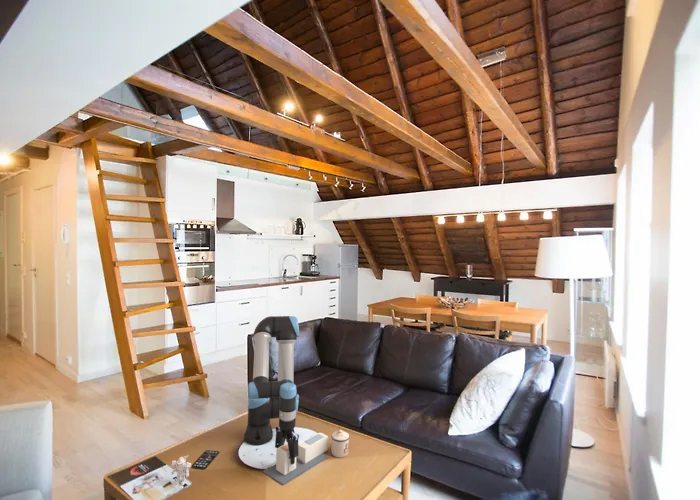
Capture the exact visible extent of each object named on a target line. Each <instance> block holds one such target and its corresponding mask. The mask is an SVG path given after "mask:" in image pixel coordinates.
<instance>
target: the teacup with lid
mask: <svg viewBox="0 0 700 500" xmlns="http://www.w3.org/2000/svg"><path fill="white" fill-rule="evenodd" d="M349 441H350V434H349V433H348V432H347V431H344V430H342V429H339V430H336V431H334V432H333V433H332V434H331V455H332V456H334V457H336V458H345V457H347V456H348V455H349V447H350V446H349V444H350V442H349Z"/></svg>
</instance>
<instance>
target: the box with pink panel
mask: <svg viewBox="0 0 700 500" xmlns="http://www.w3.org/2000/svg"><path fill="white" fill-rule="evenodd" d="M275 455H276V458H275V460H276V461H275V464H276V470H277V471H279V472H280V473H282V474H283V475H286V474H288V473H289V471H288V462H289V457H290V454H289V448H288V442H285V443H284V445H282V446H281V447H279V448H276V454H275ZM294 469H296V457H295V463H294ZM294 469H293V470H294ZM293 470H291V471H293ZM291 471H290V472H291Z"/></svg>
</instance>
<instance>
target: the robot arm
mask: <svg viewBox="0 0 700 500" xmlns="http://www.w3.org/2000/svg"><path fill="white" fill-rule="evenodd" d="M298 320H299V319H298V317H296V316H295V315H291V316H290V315H283V316H281V315H277V316H274V315H273V316H267V317H264V318H263V319H261V321H259V322H258V323H257V325H256V326H255V329H254V331H253V337H252V339H253V341H254V352H253V353H254V354H253V369H252V371H253V373H252V381H251V382H248V385H247V397H248V403H247V409H248V410H247V426H246V429H245V431H244V433H243V441H244V442H245V443H246V444H248V445H251V446H261V445H262V446H263V445H265V444H267V443H269V442H270V441H272V440H273V437H274V431H273V428H272V425H271V420H273V419H278V425H277V426H276V427H274V428H275V443H274V448H275V449H277V448H279V447H281V446H282V445H284V444H286V443H288V448H289V454H290V457H289V462H288V471H289V472H290V471H291V470H293V469H294V463H295V457H297V456H298V444H299V438H300V435H299V434H296V433H295V427H296V415H297V414H298V409H299V402H300V401H299V399H300V395H299V394H298V392H297V385H296V384H295V382H294V380H295V379H294V376H295V375H294V368H295V367H294V363H295V360H294V359H295V358H294V357H295V356H294V355H295V344H296V342H297V339H298V338H299V337H300V328H299V327H300V326H299V321H298ZM272 338H275V342H276V343H278V347H277V348H278V349H277V351H278V355H277V380H274V381H273V380H272V381H269V373H270V371H269V369H270V367H269V366H270V342H271V340H272Z"/></svg>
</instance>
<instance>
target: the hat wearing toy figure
mask: <svg viewBox="0 0 700 500" xmlns="http://www.w3.org/2000/svg"><path fill="white" fill-rule="evenodd" d="M189 456H190V455H189V454H187V455H184V456H180V457H179V458H178V459H177V460H172V462H171V464H170V466H171V468H172V470H171V474H170V475H171V476H173V475H174V474H175V473H176V470H177V475H176V480H175V485H180V486H183V485H185V484H186V478H188V477H189V476H190V471H189V469H192V468H191V466H192V463H191V462H190V461H187V458H188V457H189ZM186 461H187V462H186Z"/></svg>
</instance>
